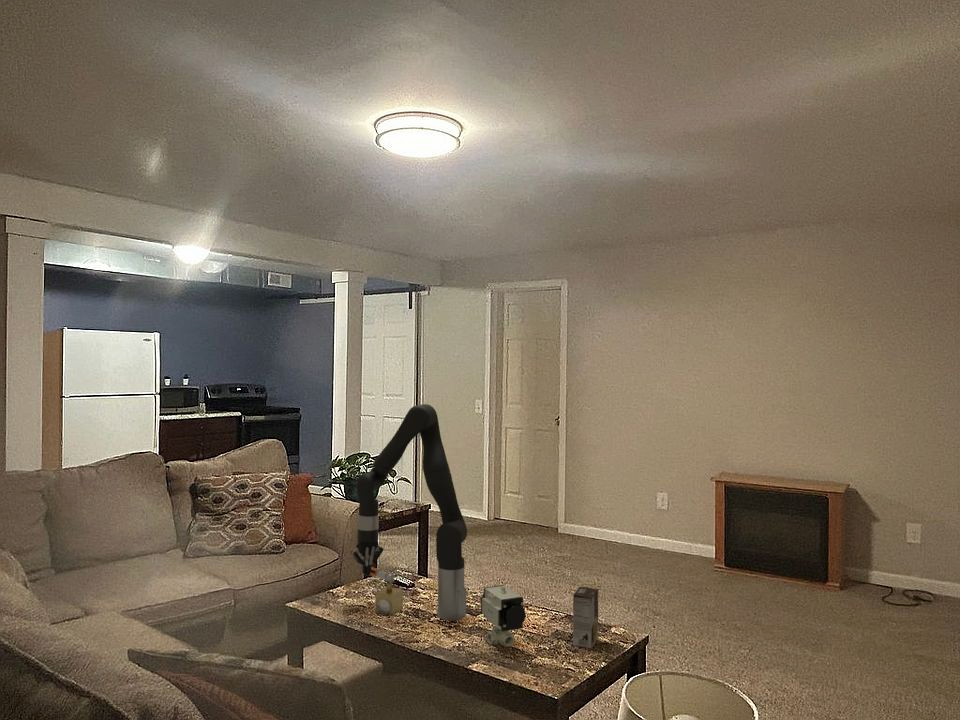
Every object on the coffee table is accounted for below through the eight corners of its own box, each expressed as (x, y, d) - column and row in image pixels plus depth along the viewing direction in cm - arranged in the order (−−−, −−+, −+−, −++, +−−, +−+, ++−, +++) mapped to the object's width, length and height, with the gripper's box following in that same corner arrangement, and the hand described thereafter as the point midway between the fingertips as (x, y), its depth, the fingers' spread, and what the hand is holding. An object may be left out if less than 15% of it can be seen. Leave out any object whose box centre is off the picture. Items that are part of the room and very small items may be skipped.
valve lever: (395, 581, 253) (395, 574, 253) (388, 583, 251) (388, 576, 251) (371, 572, 263) (371, 565, 263) (364, 574, 261) (364, 567, 261)
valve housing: (403, 608, 256) (404, 579, 256) (391, 616, 247) (391, 586, 247) (387, 605, 258) (387, 577, 258) (373, 613, 250) (374, 584, 250)
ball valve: (476, 635, 231) (477, 580, 231) (499, 631, 235) (500, 577, 235) (501, 656, 215) (502, 597, 215) (526, 651, 218) (526, 594, 218)
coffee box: (579, 635, 232) (579, 585, 232) (598, 638, 230) (599, 588, 230) (571, 645, 224) (572, 594, 224) (591, 648, 221) (592, 597, 222)
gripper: (357, 531, 251) (355, 580, 251) (389, 527, 259) (387, 574, 259) (346, 527, 257) (345, 575, 256) (378, 523, 265) (376, 569, 265)
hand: (366, 575), depth 258 cm, fingers closed
